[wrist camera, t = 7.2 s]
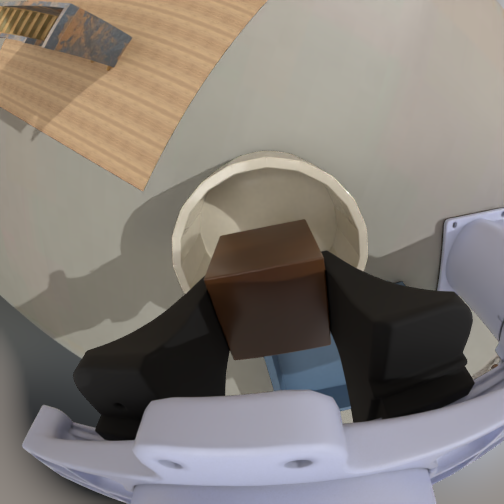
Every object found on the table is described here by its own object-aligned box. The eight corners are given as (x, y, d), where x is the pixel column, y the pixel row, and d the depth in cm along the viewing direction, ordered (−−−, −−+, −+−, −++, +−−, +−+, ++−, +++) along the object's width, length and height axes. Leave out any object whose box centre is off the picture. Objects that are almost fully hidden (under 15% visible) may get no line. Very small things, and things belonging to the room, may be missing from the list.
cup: (328, 138, 16) (357, 141, 11) (345, 274, 20) (368, 318, 15) (178, 171, 17) (145, 187, 12) (217, 297, 21) (206, 346, 16)
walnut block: (305, 218, 12) (324, 257, 8) (315, 291, 14) (331, 345, 10) (219, 235, 13) (202, 279, 9) (240, 305, 14) (233, 361, 10)
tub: (402, 281, 20) (420, 304, 17) (389, 372, 25) (398, 395, 22) (259, 311, 21) (258, 339, 18) (282, 395, 26) (283, 421, 23)
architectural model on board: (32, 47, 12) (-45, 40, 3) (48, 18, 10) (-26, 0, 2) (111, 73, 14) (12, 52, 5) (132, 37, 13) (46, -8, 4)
